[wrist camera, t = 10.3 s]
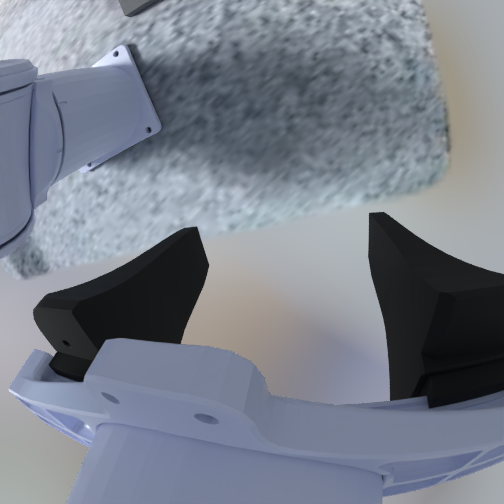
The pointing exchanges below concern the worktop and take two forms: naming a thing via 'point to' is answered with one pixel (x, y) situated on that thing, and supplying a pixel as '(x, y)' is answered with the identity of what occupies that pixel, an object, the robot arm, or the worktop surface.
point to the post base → (134, 6)
